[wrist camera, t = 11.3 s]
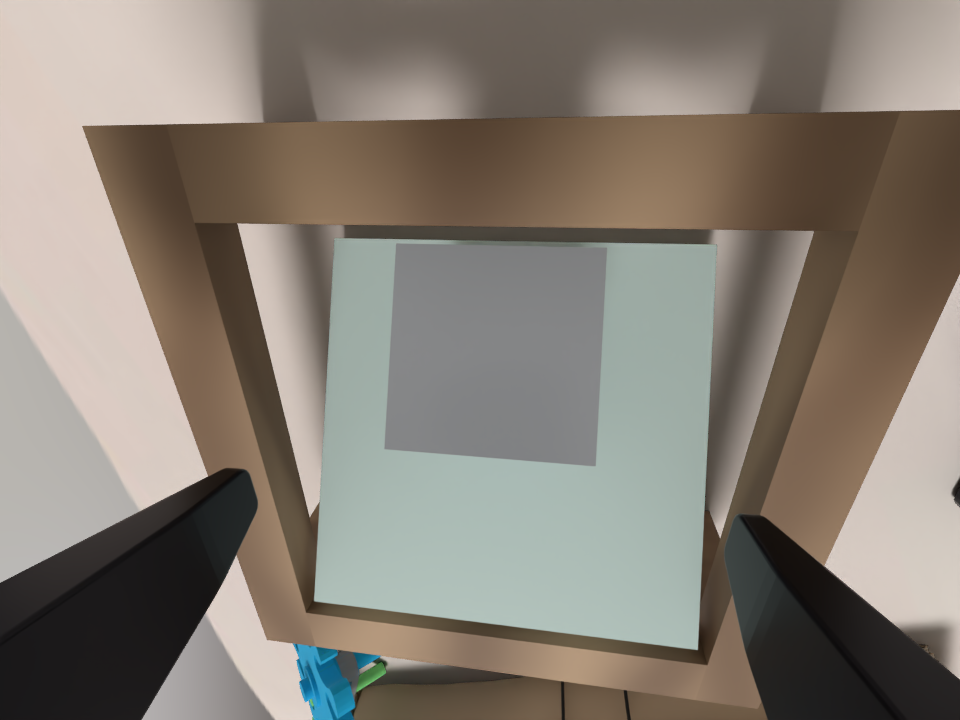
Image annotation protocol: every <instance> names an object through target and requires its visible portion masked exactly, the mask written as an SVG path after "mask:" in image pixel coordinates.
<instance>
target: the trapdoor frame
mask: <svg viewBox="0 0 960 720" xmlns="http://www.w3.org/2000/svg"><path fill="white" fill-rule="evenodd" d="M82 127H83V130H84V132H85V135H86V138H87V141H88V144H89V146H90V149H91V152H92V155H93V157H94V160H95V163H96V166H97V169H98V171H99V174H100V177H101V180H102V182H103V185H104V188H105V191H106V194H107V196H108V199H109V202H110V205H111V207H112V210H113V213H114V216H115V219H116V221H117V224H118V227H119V230H120V232H121V235H122V238H123V241H124V244H125V246H126V249H127V252H128V255H129V257H130V260H131V263H132V266H133V269H134V271H135V274H136V277H137V280H138V282H139V285H140V288H141V291H142V294H143V296H144V299H145V302H146V305H147V307H148V310H149V313H150V316H151V319H152V321H153V324H154V327H155V330H156V332H157V335H158V338H159V341H160V344H161V346H162V349H163V352H164V355H165V357H166V360H167V363H168V366H169V369H170V371H171V374H172V377H173V380H174V382H175V385H176V388H177V391H178V394H179V396H180V399H181V402H182V405H183V407H184V410H185V413H186V416H187V419H188V421H189V424H190V427H191V430H192V432H193V435H194V438H195V441H196V444H197V446H198V449H199V452H200V455H201V457H202V460H203V463H204V466H205V469H206V471H207V474H208V476H210V475H212V474H214V473H216V472H218V471H220V470H222V469H224V468H239V469H245V470H247V471H248V472H249V473H250V476H251V479H252V482H253V485H254V489H255V492H256V495H257V498H258V509H257V512H256V515H255V517H254V519H253V521H252V523H251V525H250V527H249V529H248V531H247V534H246V536H245V538H244V540H243V542H242V544H241V546H240V548H239V550H238V552H237V554H236V555H237V558H238V560H239V563H240V566H241V569H242V571H243V574H244V577H245V580H246V583H247V585H248V588H249V591H250V594H251V596H252V599H253V602H254V605H255V608H256V610H257V613H258V616H259V619H260V621H261V624H262V627H263V630H264V633H265V635H266V638H267V640H272V641H279V642H287V643H294V644H301V645H308V646H315V647H322V648H329V649H336V650H343V651H350V652H358V653H365V654H372V655H379V656H386V657H393V658H400V659H407V660H414V661H422V662H429V663H436V664H443V665H450V666H457V667H464V668H471V669H478V670H485V671H493V672H500V673H507V674H514V675H521V676H528V677H535V678H542V679H549V680H557V681H564V682H571V683H578V684H585V685H592V686H599V687H606V688H613V689H620V690H628V691H635V692H642V693H649V694H656V695H663V696H670V697H677V698H684V699H692V700H699V701H706V702H713V703H720V704H727V705H734V706H741V707H748V708H756V709H758V707H759V705H760V703H761V699H760V696H759V693H758V690H757V687H756V684H755V681H754V678H753V675H752V672H751V669H750V665H749V662H748V659H747V656H746V652H745V648H744V644H743V640H742V636H741V632H740V627H739V623H738V618H737V614H736V609H735V605H734V600H733V596H732V591H731V587H730V582H729V578H728V573H727V569H726V565H725V559H724V548H725V544H726V541H727V537H728V534H729V531H730V528H731V525H732V522H733V519H734V517H735V516H736V515H737V514H740V513H743V514H754V515H761V516H764V517H766V518H767V519H768V520H770V521H771V522H772V523H773V524H774V525H776V526H777V527H778V528H779V529H780V530H782V531H783V532H784V533H785V534H786V535H788V536H789V537H790V538H791V539H792V540H793V541H795V542H796V543H797V544H798V545H799V546H801V547H802V548H803V549H804V550H805V551H807V552H808V553H809V554H810V555H811V556H813V557H814V558H815V559H816V560H817V561H819V562H820V563H821V564H822V565H823V566H824V565H825V563H826V561H827V559H828V556H829V554H830V552H831V550H832V548H833V546H834V543H835V541H836V539H837V537H838V535H839V533H840V531H841V528H842V526H843V524H844V522H845V520H846V518H847V515H848V513H849V511H850V509H851V507H852V505H853V503H854V500H855V498H856V496H857V494H858V492H859V490H860V487H861V485H862V483H863V481H864V479H865V477H866V475H867V472H868V470H869V468H870V466H871V464H872V462H873V459H874V457H875V455H876V453H877V451H878V449H879V447H880V444H881V442H882V440H883V438H884V436H885V434H886V431H887V429H888V427H889V425H890V423H891V421H892V419H893V416H894V414H895V412H896V410H897V408H898V406H899V403H900V401H901V399H902V397H903V395H904V393H905V391H906V388H907V386H908V384H909V382H910V380H911V378H912V375H913V373H914V371H915V369H916V367H917V365H918V363H919V360H920V358H921V356H922V354H923V352H924V350H925V347H926V345H927V343H928V341H929V339H930V337H931V335H932V332H933V330H934V328H935V326H936V324H937V322H938V319H939V317H940V315H941V313H942V311H943V309H944V307H945V304H946V302H947V300H948V298H949V296H950V294H951V291H952V289H953V287H954V285H955V283H956V281H957V279H958V276H959V274H960V110H933V111H879V112H824V113H769V114H714V115H660V116H605V117H550V118H496V119H441V120H386V121H331V122H277V123H222V124H167V125H112V126H82ZM237 223H249V224H327V225H405V226H483V227H561V228H639V229H717V230H795V231H814V234H813V238H812V241H811V244H810V247H809V251H808V254H807V257H806V261H805V264H804V267H803V270H802V274H801V277H800V280H799V283H798V287H797V290H796V293H795V296H794V300H793V303H792V306H791V310H790V313H789V316H788V319H787V323H786V326H785V329H784V332H783V336H782V339H781V342H780V345H779V349H778V352H777V355H776V359H775V362H774V365H773V368H772V372H771V375H770V378H769V381H768V385H767V388H766V391H765V394H764V398H763V401H762V404H761V408H760V411H759V414H758V417H757V421H756V424H755V427H754V430H753V434H752V437H751V440H750V444H749V447H748V450H747V453H746V457H745V460H744V463H743V466H742V470H741V473H740V476H739V479H738V483H737V486H736V489H735V493H734V496H733V499H732V502H731V506H730V509H729V512H728V515H727V519H726V522H725V525H724V528H723V532H722V535H721V538H720V537H719V535H718V532H717V530H716V527H715V525H714V522H713V520H712V517H711V515H710V512H709V511H704V529H703V550H702V572H701V593H700V614H699V635H698V650H694V649H686V648H678V647H670V646H662V645H654V644H646V643H638V642H631V641H623V640H615V639H607V638H599V637H591V636H583V635H575V634H568V633H560V632H552V631H544V630H536V629H528V628H520V627H513V626H505V625H497V624H489V623H481V622H473V621H465V620H457V619H450V618H442V617H434V616H426V615H418V614H410V613H402V612H394V611H387V610H379V609H371V608H363V607H355V606H347V605H339V604H332V603H324V602H316V601H314V594H315V576H316V559H317V541H318V523H319V505H320V502H319V504H318V505H317V507H316V509H315V510H314V512H313V513H312V515H311V517H310V518H309V514H308V509H307V505H306V501H305V497H304V493H303V489H302V485H301V481H300V477H299V473H298V469H297V465H296V461H295V457H294V453H293V448H292V444H291V440H290V436H289V432H288V428H287V424H286V420H285V416H284V412H283V408H282V404H281V400H280V396H279V391H278V387H277V383H276V379H275V375H274V371H273V367H272V363H271V359H270V355H269V351H268V347H267V343H266V339H265V335H264V330H263V326H262V322H261V318H260V314H259V310H258V306H257V302H256V298H255V294H254V290H253V286H252V282H251V278H250V273H249V269H248V265H247V261H246V257H245V253H244V249H243V245H242V241H241V237H240V233H239V229H238V225H237Z"/></svg>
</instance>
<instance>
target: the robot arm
mask: <svg viewBox="0 0 960 720" xmlns="http://www.w3.org/2000/svg"><path fill="white" fill-rule="evenodd" d="M954 501H955V503H956V504H957V505H958V506H959V507H960V489H959V490H958V492H957V494H956V495H955V498H954ZM257 509H258V498H257V495H256V492H255V489H254V485H253V482H252V479H251V476H250V473H249V472H248V471H247V470H245V469H239V468H224V469H222V470H220V471H218V472H216V473H214V474H212V475H210V476H208V477H206V478H204V479H202V480H200V481H198V482H196V483H194V484H192V485H191V486H189V487H187V488H185V489H183V490H181V491H179V492H177V493H175V494H173V495H171V496H169V497H167V498H165V499H163V500H161V501H159V502H157V503H155V504H153V505H151V506H149V507H148V508H146V509H144V510H142V511H140V512H138V513H136V514H134V515H132V516H130V517H128V518H126V519H124V520H122V521H120V522H118V523H116V524H114V525H112V526H110V527H109V528H107V529H105V530H103V531H101V532H99V533H97V534H95V535H93V536H91V537H89V538H87V539H85V540H83V541H81V542H79V543H77V544H75V545H73V546H71V547H69V548H68V549H65V550H64V551H62V552H60V553H58V554H56V555H54V556H52V557H50V558H48V559H46V560H44V561H42V562H40V563H38V564H36V565H34V566H32V567H30V568H29V569H26V570H25V571H22V572H21V573H19V574H17V575H15V576H13V577H11V578H9V579H7V580H5V581H3V582H1V583H0V720H142V718H143V716H144V715H145V713H146V711H147V710H148V708H149V706H150V705H151V703H152V701H153V700H154V698H155V696H156V695H157V693H158V691H159V690H160V688H161V686H162V685H163V683H164V681H165V680H166V678H167V676H168V675H169V673H170V671H171V670H172V668H173V666H174V665H175V663H176V661H177V660H178V658H179V656H180V654H181V653H182V651H183V649H184V648H185V646H186V644H187V643H188V641H189V639H190V638H191V636H192V634H193V633H194V631H195V629H196V628H197V626H198V624H199V623H200V621H201V619H202V618H203V616H204V614H205V613H206V611H207V609H208V608H209V606H210V604H211V603H212V601H213V599H214V597H215V596H216V594H217V592H218V590H219V589H220V587H221V585H222V583H223V581H224V579H225V577H226V575H227V573H228V571H229V569H230V567H231V565H232V563H233V561H234V559H235V557H236V554H237V552H238V550H239V548H240V546H241V544H242V542H243V540H244V538H245V536H246V534H247V531H248V529H249V527H250V525H251V523H252V521H253V519H254V517H255V515H256V512H257ZM724 559H725V565H726V569H727V573H728V578H729V582H730V587H731V591H732V596H733V600H734V605H735V609H736V614H737V618H738V623H739V627H740V632H741V636H742V640H743V644H744V648H745V652H746V656H747V659H748V662H749V665H750V669H751V672H752V675H753V678H754V681H755V684H756V687H757V690H758V693H759V696H760V699H761V701H762V704H763V707H764V710H765V713H766V716H767V719H768V720H960V679H958V678H957V677H956V676H955V675H954V674H953V673H951V672H950V671H949V670H948V669H947V668H945V667H944V666H943V665H942V664H941V663H939V662H938V661H937V660H936V659H935V658H933V657H932V656H931V655H930V654H929V653H927V652H926V651H925V650H924V649H923V648H921V647H920V646H919V645H918V644H917V643H915V642H914V641H913V640H912V639H911V638H909V637H908V636H907V635H906V634H905V633H903V632H902V631H901V630H900V629H899V628H898V627H896V626H895V625H894V624H893V623H892V622H890V621H889V620H888V619H887V618H886V617H884V616H883V615H882V614H881V613H880V612H878V611H877V610H876V609H875V608H874V607H872V606H871V605H870V604H869V603H868V602H866V601H865V600H864V599H863V598H862V597H860V596H859V595H858V594H857V593H856V592H854V591H853V590H852V589H851V588H850V587H848V586H847V585H846V584H845V583H844V582H843V581H841V580H840V579H839V578H838V577H837V576H835V575H834V574H833V573H832V572H831V571H829V570H828V569H827V568H826V567H825V566H823V565H822V564H821V563H820V562H819V561H817V560H816V559H815V558H814V557H813V556H811V555H810V554H809V553H808V552H807V551H805V550H804V549H803V548H802V547H801V546H799V545H798V544H797V543H796V542H795V541H793V540H792V539H791V538H790V537H789V536H788V535H786V534H785V533H784V532H783V531H782V530H780V529H779V528H778V527H777V526H776V525H774V524H773V523H772V522H771V521H770V520H768V519H767V518H766V517H764V516H761V515H754V514H743V513H740V514H737V515H736V516H735V517H734V519H733V522H732V525H731V528H730V531H729V534H728V537H727V541H726V544H725V548H724Z"/></svg>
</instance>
